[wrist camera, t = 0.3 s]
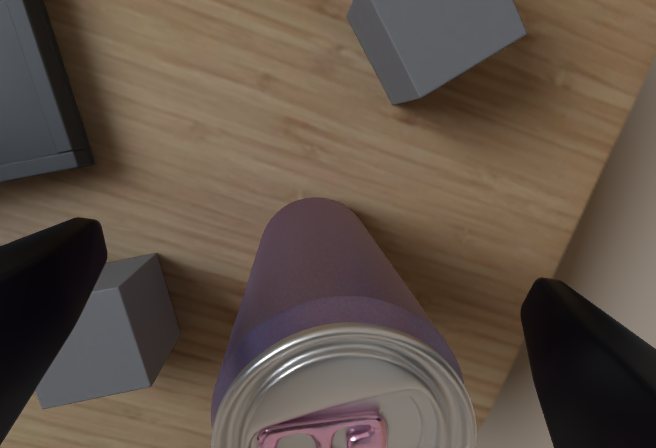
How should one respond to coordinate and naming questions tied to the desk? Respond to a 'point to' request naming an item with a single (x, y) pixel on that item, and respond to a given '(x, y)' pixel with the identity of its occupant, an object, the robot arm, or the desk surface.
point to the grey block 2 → (431, 39)
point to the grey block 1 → (115, 336)
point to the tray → (35, 98)
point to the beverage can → (334, 347)
